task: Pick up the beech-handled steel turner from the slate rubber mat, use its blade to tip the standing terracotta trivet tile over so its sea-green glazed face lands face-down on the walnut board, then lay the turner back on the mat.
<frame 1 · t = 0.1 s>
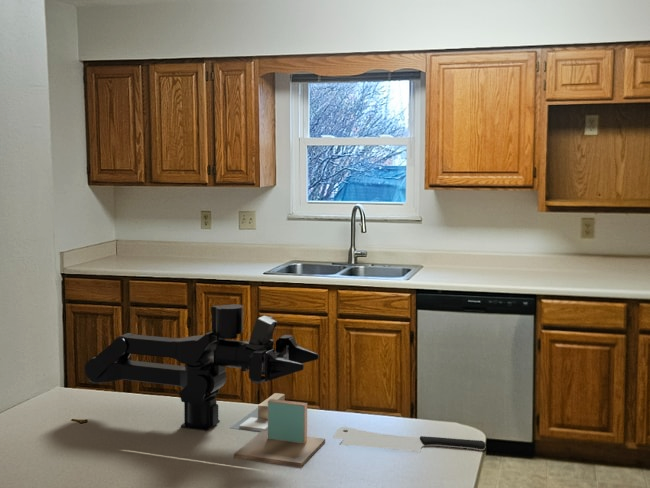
hand: (311, 361, 161), 17 cm above the countertop, tool horizontal, fingers open, 9 cm apart
tile: (287, 421, 159), point 5 cm above the countertop, touching board
turner: (263, 421, 173), resting on mat
board: (280, 450, 156), on the countertop
kitchen cleaver: (407, 448, 160), on the countertop
mat: (266, 419, 175), on the countertop
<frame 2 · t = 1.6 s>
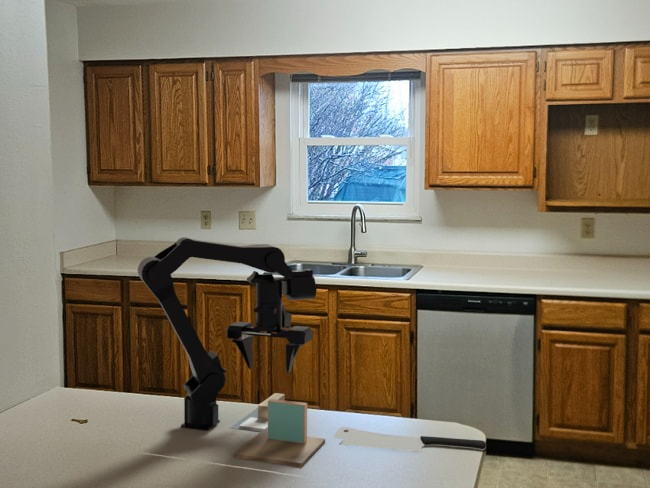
hand: (269, 370, 175), 11 cm above the countertop, tool pointing down, fingers open, 9 cm apart
nothing on the countertop moved.
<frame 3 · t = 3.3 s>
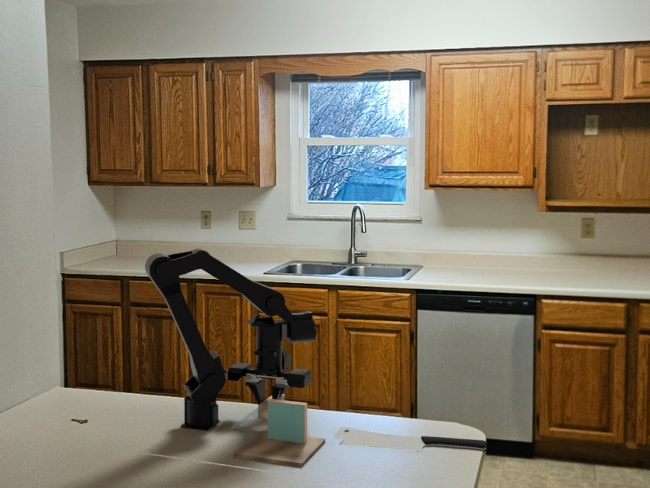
hand: (268, 412, 176), 1 cm above the countertop, tool pointing down, fingers closed on turner, 2 cm apart
turner: (263, 421, 173), resting on mat, touching gripper
everything else where it was.
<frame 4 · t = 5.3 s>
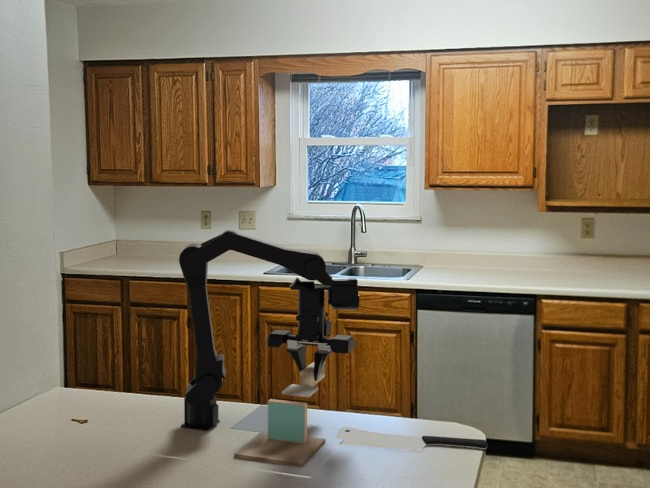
hand: (310, 379, 172), 10 cm above the countertop, tool pointing down, fingers closed on turner, 2 cm apart
turner: (305, 388, 169), point 9 cm above the countertop, touching gripper
everything else where it was.
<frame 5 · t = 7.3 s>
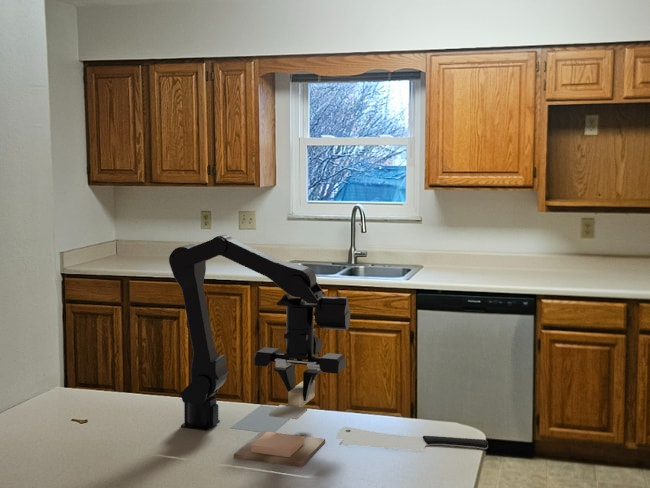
hand: (299, 399, 165), 7 cm above the countertop, tool pointing down, fingers closed on turner, 2 cm apart
tile: (278, 444, 154), point 2 cm above the countertop, tilted 90°, touching board
turner: (293, 409, 162), point 6 cm above the countertop, touching gripper
everything else where it was.
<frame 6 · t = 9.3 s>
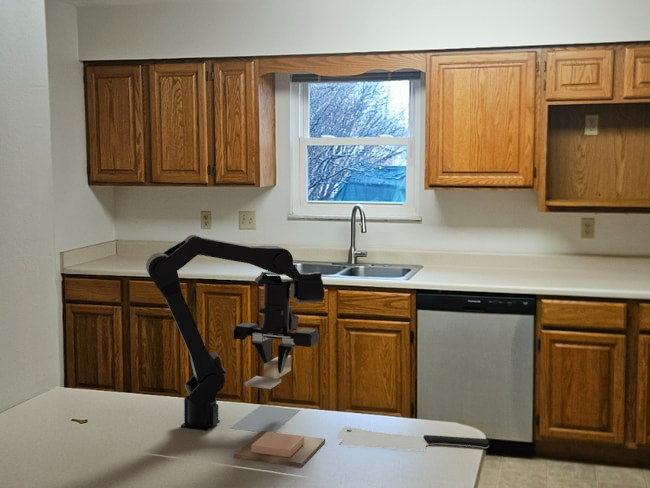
hand: (274, 372, 174), 11 cm above the countertop, tool pointing down, fingers closed on turner, 2 cm apart
turner: (268, 380, 171), point 10 cm above the countertop, touching gripper
when the fingers open (2 cm above the countertop, at t = 11.3 s): turner drops 1 cm, resting on mat.
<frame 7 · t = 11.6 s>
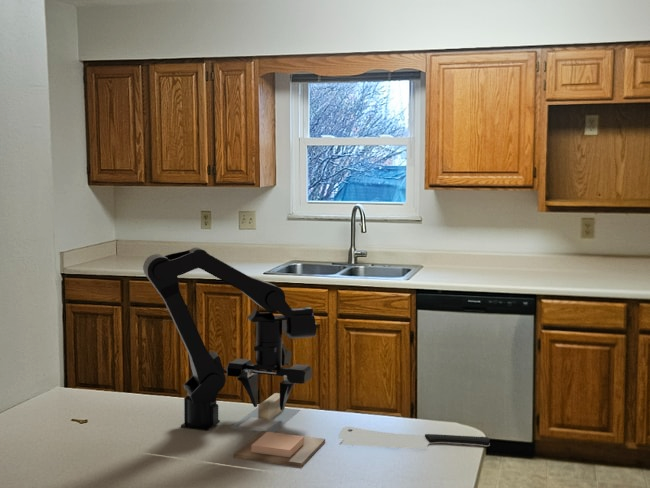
hand: (268, 408, 176), 2 cm above the countertop, tool pointing down, fingers open, 6 cm apart
turner: (263, 421, 173), resting on mat
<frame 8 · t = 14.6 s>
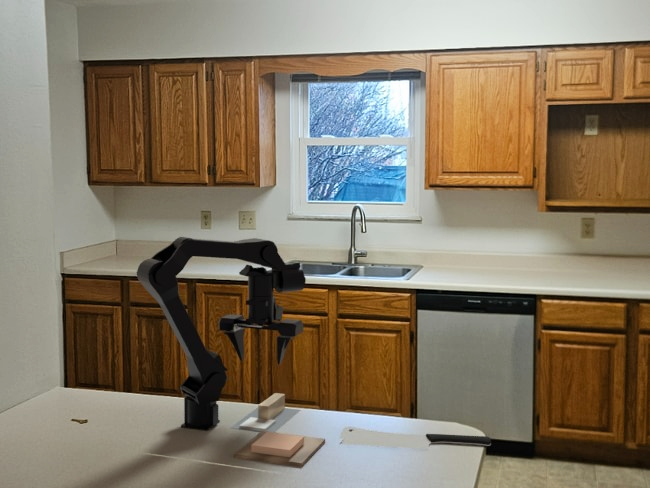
hand: (260, 362, 178), 12 cm above the countertop, tool pointing down, fingers open, 9 cm apart
at the end: tile 0.0 cm from the target spot, point 1.9 cm above the countertop; tile tilted 90°; turner inside the target area (0.1 cm from its centre), resting on mat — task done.
